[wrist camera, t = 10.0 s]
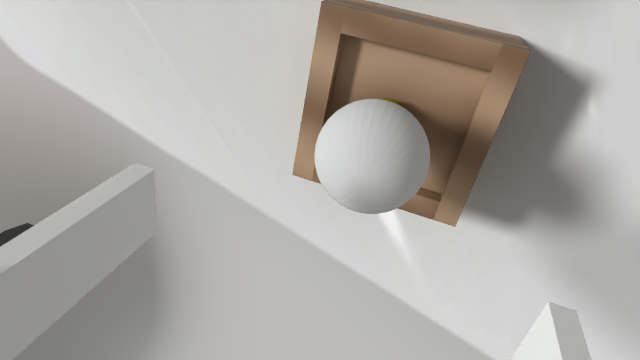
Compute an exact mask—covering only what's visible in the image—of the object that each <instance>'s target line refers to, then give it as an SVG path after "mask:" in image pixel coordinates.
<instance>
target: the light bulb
mask: <svg viewBox="0 0 640 360" xmlns="http://www.w3.org/2000/svg"><path fill="white" fill-rule="evenodd" d="M314 156H315V167H316V172H317V175H318V177H319V180H320V182H321V184H322V186H323V187H324V189H325V190H326V192H327V193H328V194H329V195H330V196H331V197H332V198H333V199H334V200H335V201H336V202H338V203H339V204H340V205H342V206H344V207H346V208H348V209H350V210H353V211H356V212H360V213H366V214H378V213H384V212H388V211H391V210H394V209H396V208H398V207H400V206H402V205H403V204H405V203H406V202H408V201H409V200H410V199H411V198H412V197H413V196H414V195H415V194H416V193H417V192H418V190H419V189H420V187H421V186H422V184H423V182H424V180H425V178H426V176H427V172H428V169H429V163H430V148H429V143H428V139H427V136H426V134H425V131H424V129H423V127H422V126H421V124H420V123H419V121H418V120H417V119H416V118H415V117H414V116H413V115H412V114H411V113H410V112H409V111H408V110H407V109H406V107H405V106H404V105H403V104H402V103H401V102H400V101H398V100H396V99H393V98H382V99H364V100H359V101H355V102H352V103H350V104H348V105H346V106H344V107H342V108H341V109H339V110H338V111H336V112H335V113H334V114H333V115H332V116H331V117H330V118H329V119H328V120H327V122H326V123H325V125H324V126H323V127H322V129H321V131H320V134H319V136H318V139H317V142H316V146H315V155H314Z"/></svg>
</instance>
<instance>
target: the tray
mask: <svg viewBox="0 0 640 360" xmlns="http://www.w3.org/2000/svg"><path fill="white" fill-rule="evenodd" d="M529 54H530V49H529V48H528V47H527V45H526V44H525V43H524V41H523V40H522V39H521V37H519V36H515V35H511V34H506V33H502V32H498V31H494V30H489V29H485V28H481V27H476V26H472V25H468V24H464V23H459V22H455V21H451V20H446V19H442V18H438V17H434V16H429V15H425V14H421V13H416V12H412V11H408V10H404V9H399V8H395V7H391V6H386V5H382V4H378V3H374V2H369V1H365V0H324V1H322V2H321V8H320V14H319V20H318V26H317V32H316V38H315V44H314V50H313V56H312V62H311V68H310V74H309V80H308V86H307V92H306V98H305V104H304V109H303V115H302V121H301V127H300V133H299V139H298V145H297V151H296V157H295V163H294V169H293V175H295V176H298V177H301V178H304V179H307V180H310V181H314V182H317V183H320V184H321V182H320V180H319V177H318V175H317V172H316V167H315V156H314V155H315V146H316V142H317V139H318V136H319V134H320V131H321V129H322V127H323V126H324V125H325V123H326V122H327V120H328V119H329V118H330V117H331V116H332V115H333V114H334V113H335V112H336V111H338V110H339V109H341V108H342V107H344V106H346V105H348V104H350V103H352V102H355V101H359V100H364V99H382V98H393V99H396V100H398V101H400V102H401V103H402V104H403V105H404V106H405V107H406V109H407V110H408V111H409V112H410V113H411V114H412V115H413V116H414V117H415V118H416V119H417V120H418V121H419V123H420V124H421V126H422V127H423V129H424V131H425V134H426V136H427V139H428V143H429V148H430V163H429V169H428V172H427V176H426V178H425V180H424V182H423V184H422V186H421V187H420V189H419V190H418V192H417V193H416V194H415V195H414V196H413V197H412V198H411V199H410V200H409V201H408V202H406V203H405V204H403V205H402V206H400V207H398V209H401V210H404V211H408V212H411V213H414V214H417V215H420V216H423V217H426V218H429V219H433V220H436V221H439V222H442V223H445V224H448V225H451V226H456V223H457V221H458V219H459V216H460V214H461V212H462V209H463V207H464V205H465V202H466V200H467V198H468V195H469V193H470V191H471V188H472V186H473V184H474V181H475V179H476V177H477V174H478V172H479V170H480V168H481V165H482V163H483V161H484V158H485V156H486V154H487V151H488V149H489V147H490V144H491V142H492V140H493V137H494V135H495V133H496V130H497V128H498V126H499V123H500V121H501V119H502V116H503V114H504V112H505V109H506V107H507V105H508V102H509V100H510V98H511V95H512V93H513V91H514V88H515V86H516V84H517V82H518V79H519V77H520V75H521V72H522V70H523V68H524V65H525V63H526V61H527V58H528V56H529Z"/></svg>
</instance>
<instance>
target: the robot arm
mask: <svg viewBox="0 0 640 360" xmlns="http://www.w3.org/2000/svg"><path fill="white" fill-rule="evenodd" d="M156 231H157V228H156V203H155V175H154V169H152V168H149V167H146V166H143V165H140V164H137V163H134V164H132V165H131V166H129V167H128V168H126V169H124V170H123V171H121V172H120V173H118V174H116V175H115V176H113V177H112V178H110V179H108V180H107V181H105V182H103V183H102V184H100V185H99V186H97V187H96V188H94V189H92V190H91V191H89V192H88V193H86V194H84V195H83V196H81V197H79V198H78V199H76V200H75V201H73V202H72V203H70V204H68V205H67V206H65V207H64V208H62V209H60V210H59V211H57V212H55V213H54V214H52V215H50V216H49V217H48V218H46V219H44V220H42V221H41V222H39V223H38V224H36V225H35V226H34V225H31V224H29V223H26V224H23V225H20V226H18V227H15V228H12V229H9V230H6V231H4V232H2V233H1V234H0V360H12V359H14V358H15V357H16V356H17V355H18V354H19V353H21V351H23V350H24V349H25V348H26V347H27V346H28V345H30V344H31V343H32V342H33V341H34V340H35V339H36V338H37V337H39V336H40V335H41V334H42V333H43V332H44V331H45V330H46V329H47V328H49V327H50V326H51V325H52V324H53V323H54V322H55V321H57V320H58V319H59V318H60V317H61V316H62V315H63V314H64V313H65V312H67V311H68V310H69V309H70V308H71V307H72V306H73V305H75V304H76V303H77V302H78V301H79V300H80V299H81V298H82V297H84V296H85V295H86V294H87V293H88V292H89V291H90V290H91V289H92V288H94V287H95V286H96V285H97V284H98V283H99V282H100V281H102V280H103V279H104V278H105V277H106V276H107V275H108V274H109V273H111V272H112V271H113V270H114V269H115V268H116V267H117V266H118V265H119V264H121V263H122V262H123V261H124V260H125V259H126V258H127V257H128V256H130V254H132V253H133V252H134V251H135V250H136V249H138V248H139V247H140V246H141V245H142V244H143V243H144V242H145V241H147V239H149V238H150V237H151V236H152V235H153V234H154V233H155V232H156ZM510 360H591V357H590V354H589V351H588V348H587V344H586V341H585V338H584V335H583V332H582V328H581V325H580V322H579V319H578V316H577V312H576V311H575V310H572V309H569V308H566V307H563V306H560V305H557V304H554V303H551V302H548V303H547V305H546V306H545V308H544V309H543V311H542V312H541V314H540V315H539V317H538V318H537V320H536V321H535V323H534V324H533V326H532V327H531V329H530V330H529V332H528V333H527V335H526V336H525V338H524V339H523V341H522V342H521V344H520V346H519V347H518V349H517V350H516V352H515V353H514V355H513V356H512V358H511V359H510Z"/></svg>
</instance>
